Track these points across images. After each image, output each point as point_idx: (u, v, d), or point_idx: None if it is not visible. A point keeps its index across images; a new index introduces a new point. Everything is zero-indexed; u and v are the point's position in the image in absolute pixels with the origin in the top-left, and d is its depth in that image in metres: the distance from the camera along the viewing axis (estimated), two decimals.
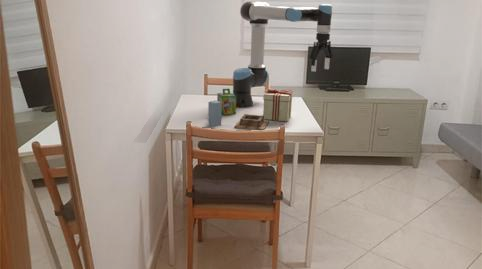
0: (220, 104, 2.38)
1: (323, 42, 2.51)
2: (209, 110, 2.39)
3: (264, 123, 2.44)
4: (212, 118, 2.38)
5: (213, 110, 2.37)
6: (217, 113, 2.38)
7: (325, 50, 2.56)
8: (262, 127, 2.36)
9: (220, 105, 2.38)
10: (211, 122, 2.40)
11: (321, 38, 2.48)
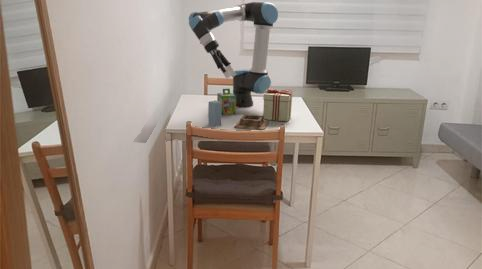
0: (220, 104, 2.38)
1: None
2: (209, 110, 2.39)
3: (264, 123, 2.44)
4: (212, 118, 2.38)
5: (213, 110, 2.37)
6: (217, 113, 2.38)
7: None
8: (262, 127, 2.36)
9: (220, 105, 2.38)
10: (211, 122, 2.40)
11: None
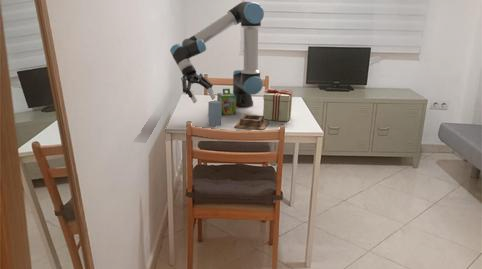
0: (220, 104, 2.38)
1: None
2: (209, 110, 2.39)
3: (264, 123, 2.44)
4: (212, 118, 2.38)
5: (213, 110, 2.37)
6: (217, 113, 2.38)
7: None
8: (262, 127, 2.36)
9: (220, 105, 2.38)
10: (211, 122, 2.40)
11: None
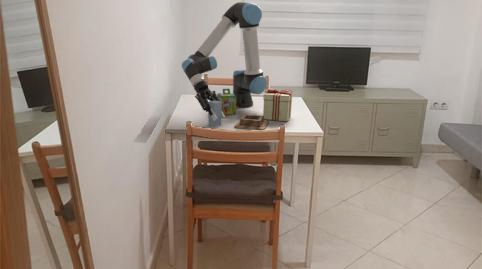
0: (220, 104, 2.38)
1: None
2: None
3: (264, 123, 2.44)
4: (212, 118, 2.38)
5: (213, 110, 2.37)
6: (217, 113, 2.38)
7: None
8: (262, 127, 2.36)
9: (220, 105, 2.38)
10: (211, 122, 2.40)
11: None
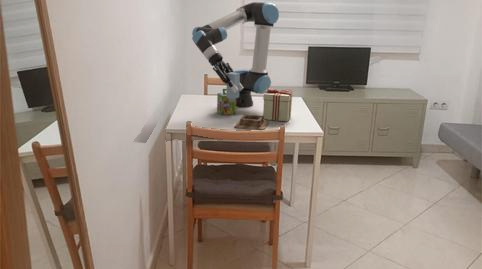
0: (238, 75, 2.33)
1: None
2: None
3: (264, 123, 2.44)
4: (231, 90, 2.33)
5: (232, 81, 2.32)
6: (236, 84, 2.33)
7: None
8: (262, 127, 2.36)
9: (239, 76, 2.34)
10: (230, 94, 2.34)
11: None
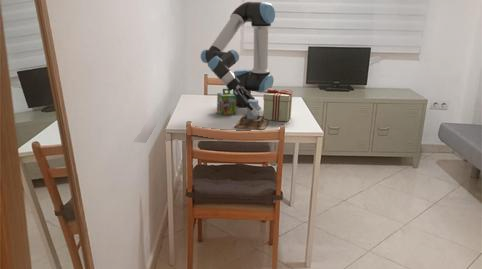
0: (257, 102, 2.40)
1: None
2: (248, 109, 2.39)
3: (264, 123, 2.44)
4: (252, 117, 2.39)
5: None
6: None
7: None
8: (262, 127, 2.36)
9: (257, 103, 2.41)
10: None
11: None
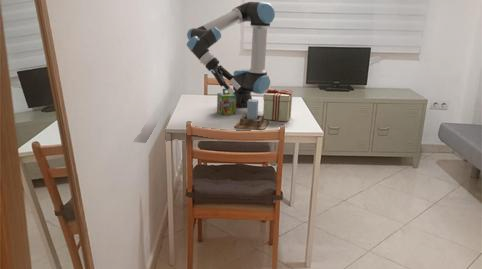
0: (257, 102, 2.40)
1: None
2: (248, 109, 2.39)
3: (264, 123, 2.44)
4: (252, 117, 2.39)
5: (254, 109, 2.38)
6: (256, 111, 2.40)
7: None
8: (262, 127, 2.36)
9: (257, 103, 2.41)
10: None
11: None
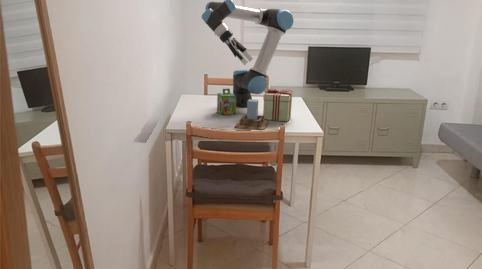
0: (257, 102, 2.40)
1: None
2: (248, 109, 2.39)
3: (264, 123, 2.44)
4: (252, 117, 2.39)
5: (254, 109, 2.38)
6: (256, 111, 2.40)
7: None
8: (262, 127, 2.36)
9: (257, 103, 2.41)
10: None
11: None
